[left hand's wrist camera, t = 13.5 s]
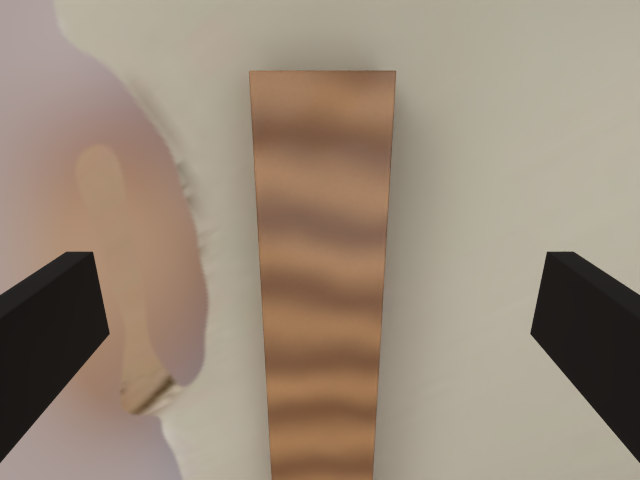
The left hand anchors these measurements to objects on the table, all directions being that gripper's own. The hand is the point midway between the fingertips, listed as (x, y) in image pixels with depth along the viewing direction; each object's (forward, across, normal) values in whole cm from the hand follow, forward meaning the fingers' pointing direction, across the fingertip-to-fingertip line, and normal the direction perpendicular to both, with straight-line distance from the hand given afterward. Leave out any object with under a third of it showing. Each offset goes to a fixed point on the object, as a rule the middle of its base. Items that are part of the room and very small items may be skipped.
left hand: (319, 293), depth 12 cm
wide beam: (+24, 0, -27) cm, 36 cm away
